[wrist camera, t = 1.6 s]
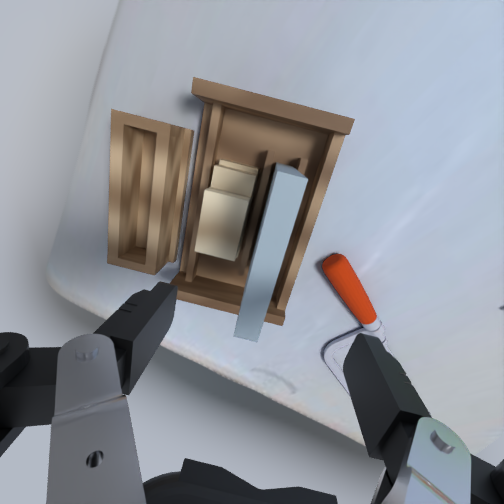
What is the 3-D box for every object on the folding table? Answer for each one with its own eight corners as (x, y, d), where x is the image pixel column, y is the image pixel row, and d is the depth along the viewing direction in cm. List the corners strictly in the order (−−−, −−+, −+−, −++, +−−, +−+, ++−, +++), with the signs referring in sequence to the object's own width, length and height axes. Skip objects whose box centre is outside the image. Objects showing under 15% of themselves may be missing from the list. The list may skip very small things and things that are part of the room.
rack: (209, 91, 27) (193, 77, 21) (339, 125, 27) (354, 119, 22) (181, 274, 35) (165, 296, 30) (281, 300, 35) (282, 326, 30)
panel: (276, 162, 27) (277, 171, 14) (292, 166, 27) (308, 179, 14) (250, 261, 32) (233, 336, 19) (264, 264, 32) (257, 342, 19)
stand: (132, 114, 28) (103, 107, 23) (194, 130, 28) (178, 126, 23) (125, 246, 34) (101, 261, 29) (176, 259, 34) (160, 276, 29)
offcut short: (210, 186, 25) (204, 189, 23) (250, 197, 25) (248, 201, 23) (200, 243, 27) (194, 251, 25) (237, 253, 27) (234, 261, 25)
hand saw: (446, 423, 39) (381, 442, 41) (434, 404, 41) (374, 422, 44) (347, 259, 29) (272, 298, 32) (340, 248, 32) (272, 285, 35)
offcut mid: (219, 164, 26) (214, 165, 24) (257, 174, 26) (255, 176, 24) (206, 237, 29) (200, 243, 27) (240, 245, 29) (237, 253, 27)
